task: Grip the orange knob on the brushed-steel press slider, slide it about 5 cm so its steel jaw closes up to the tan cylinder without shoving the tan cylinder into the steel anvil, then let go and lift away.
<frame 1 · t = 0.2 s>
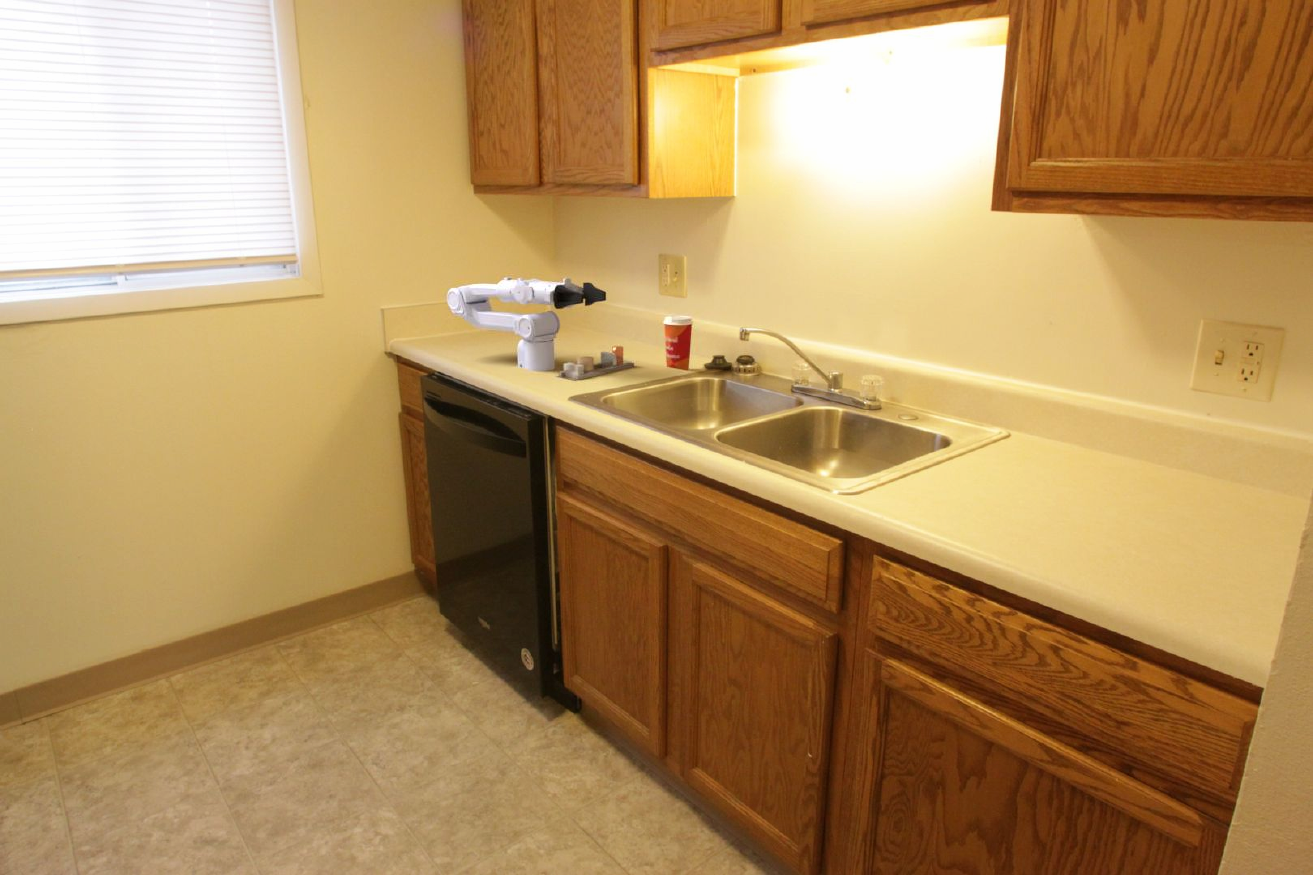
hand: (593, 297, 207), 21 cm above the worktop, tool horizontal, fingers open, 7 cm apart
paper cup: (677, 371, 228), on the worktop
press board: (597, 377, 221), on the worktop
press jaw: (616, 357, 225), point 4 cm above the worktop, slide at 0.0 cm
tan cylinder: (585, 373, 218), point 1 cm above the worktop, touching press board
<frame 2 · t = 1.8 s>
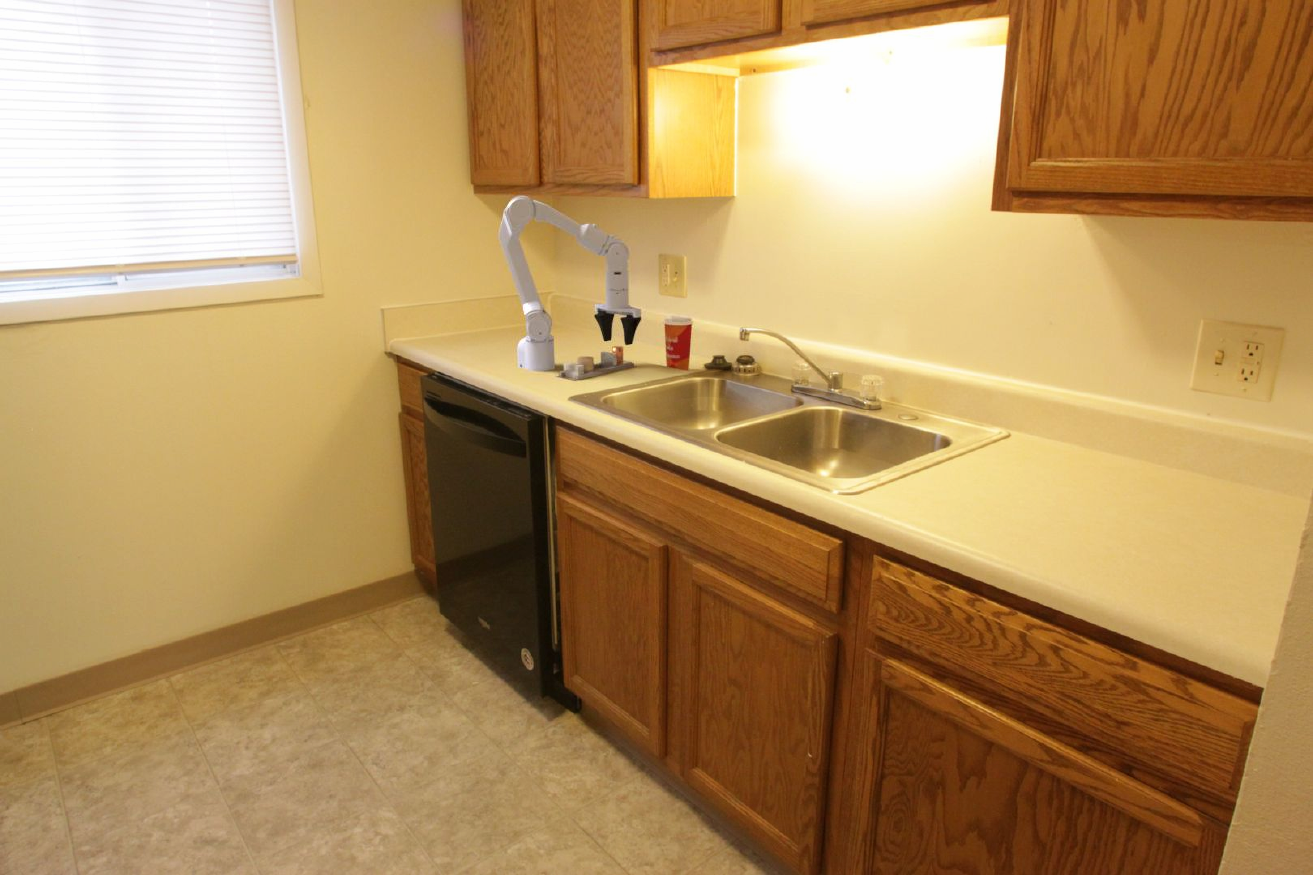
hand: (618, 342, 225), 8 cm above the worktop, tool pointing down, fingers open, 7 cm apart
nothing on the worktop moved.
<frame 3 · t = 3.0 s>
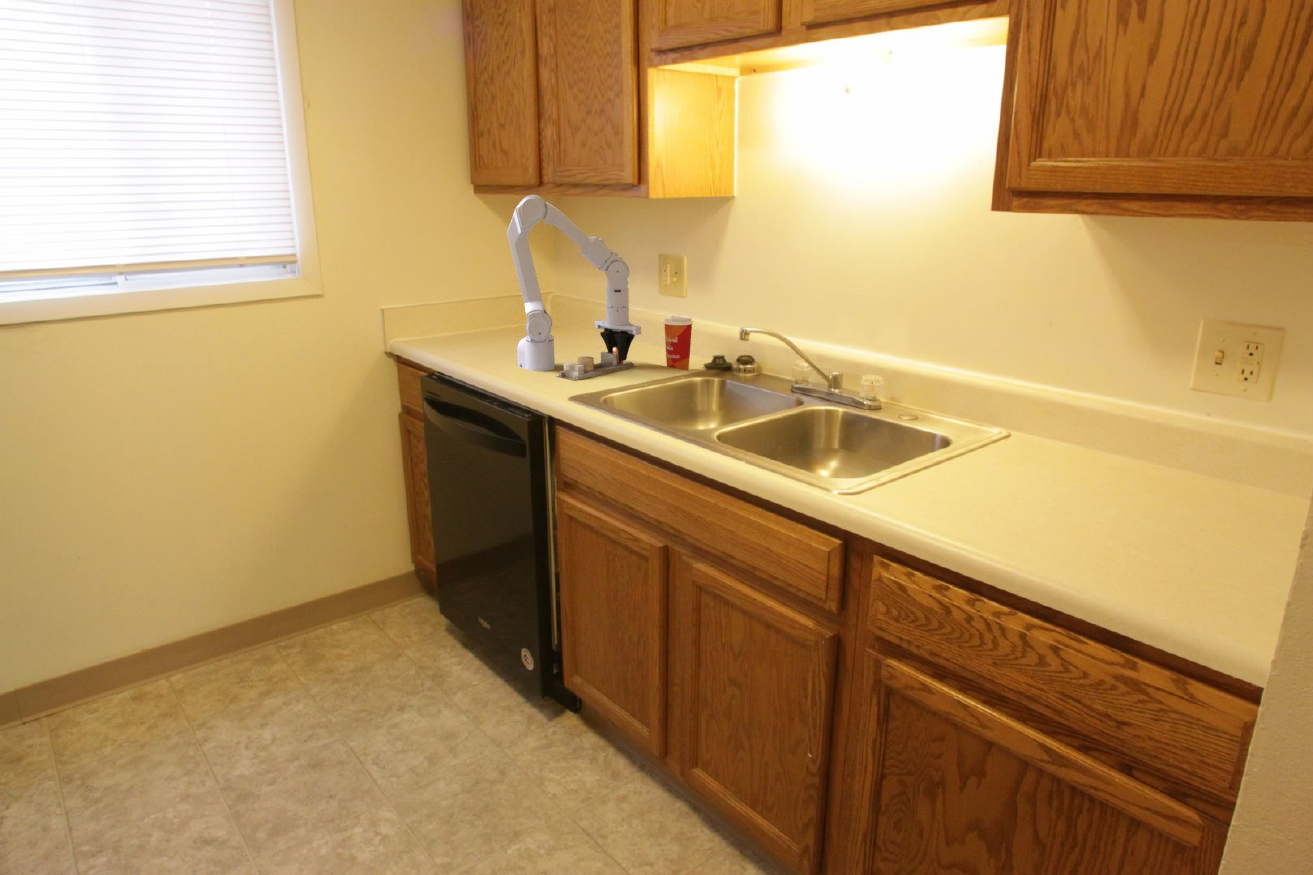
hand: (617, 359, 226), 3 cm above the worktop, tool pointing down, fingers closed on press jaw, 3 cm apart
press jaw: (616, 357, 225), point 4 cm above the worktop, slide at 0.0 cm, touching gripper
everything else where it was.
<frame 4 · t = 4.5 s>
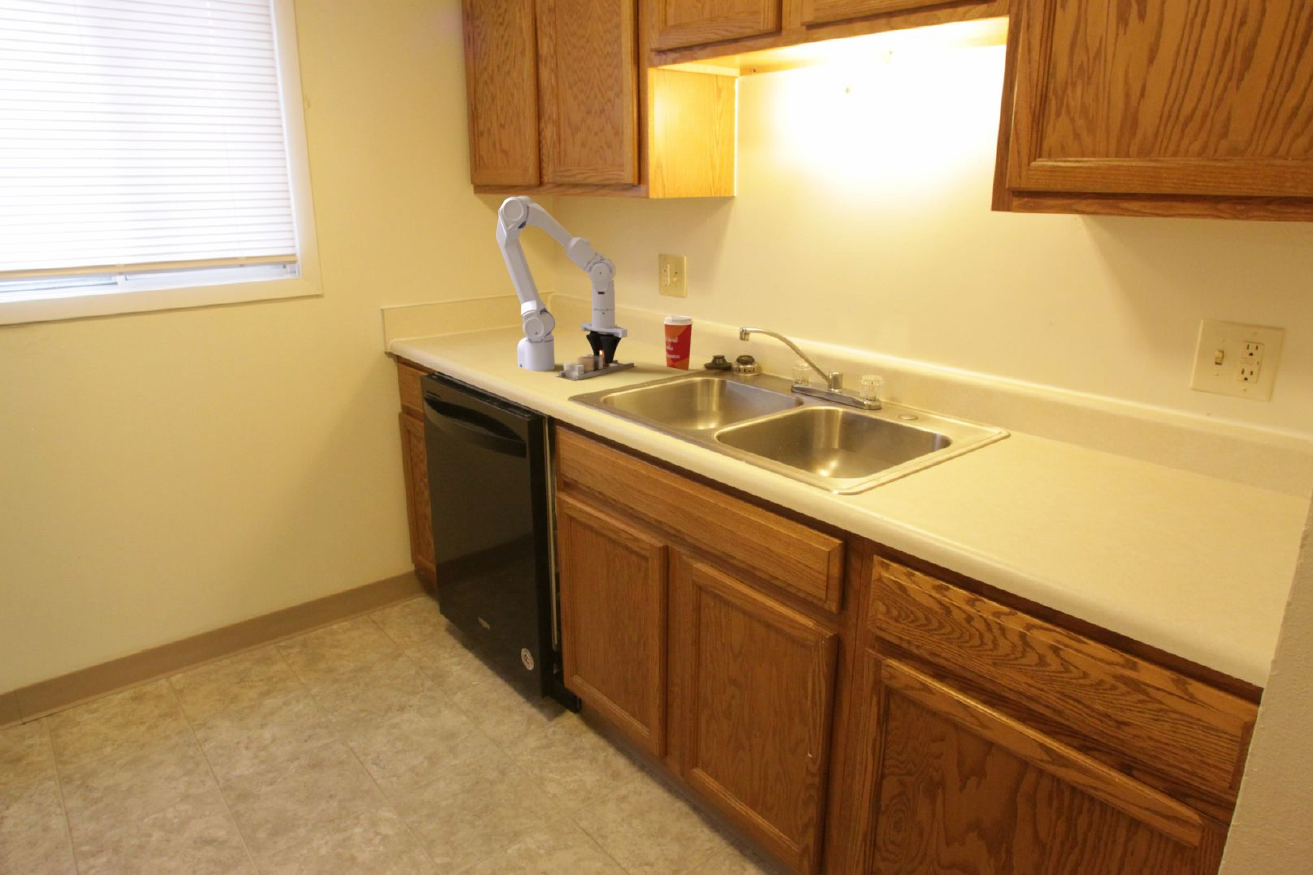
hand: (604, 362, 222), 3 cm above the worktop, tool pointing down, fingers closed on press jaw, 3 cm apart
press jaw: (603, 359, 222), point 4 cm above the worktop, slide at 4.9 cm, touching gripper
everything else where it was.
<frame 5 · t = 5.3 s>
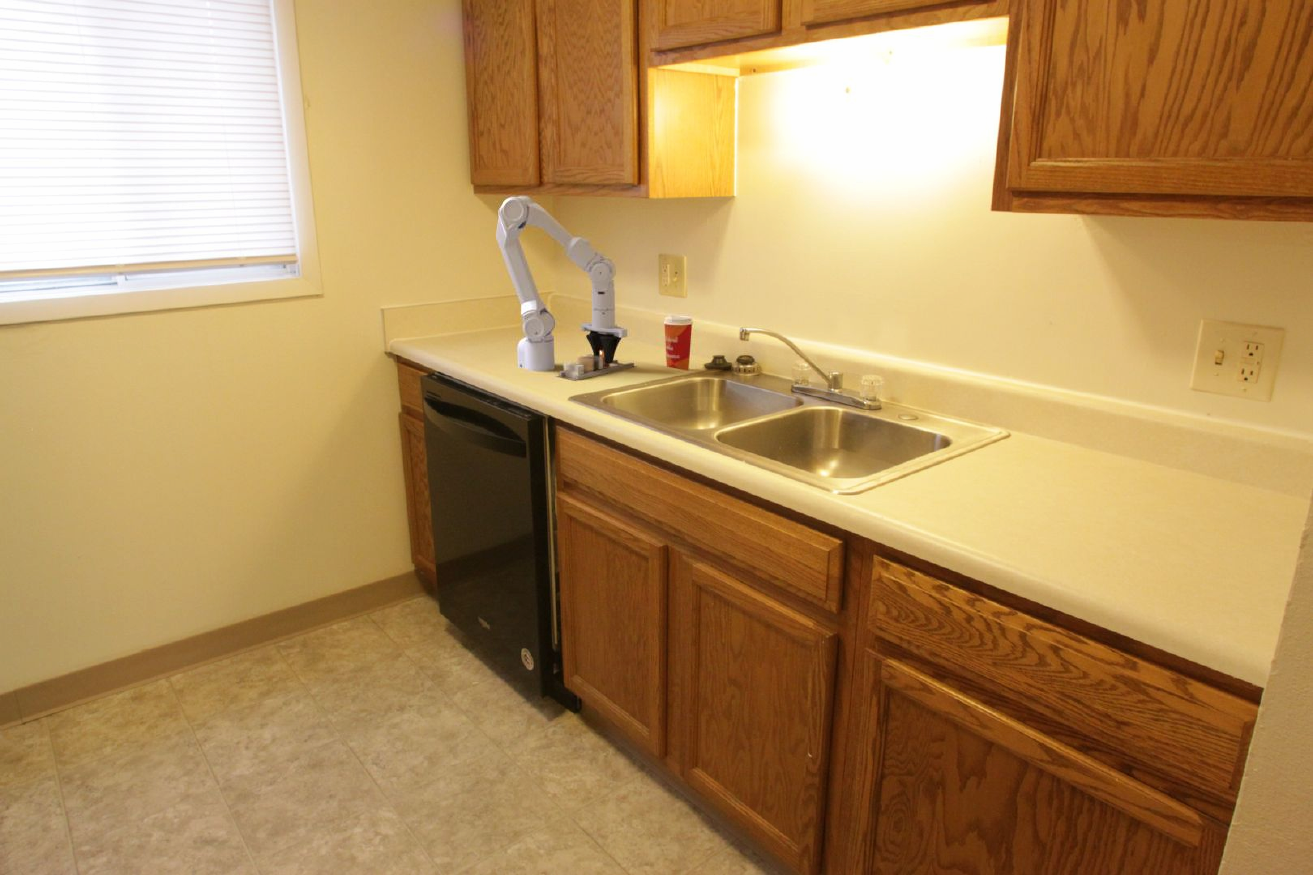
hand: (604, 362, 222), 3 cm above the worktop, tool pointing down, fingers closed on press jaw, 3 cm apart
press jaw: (603, 359, 222), point 4 cm above the worktop, slide at 4.9 cm, touching gripper
everything else where it was.
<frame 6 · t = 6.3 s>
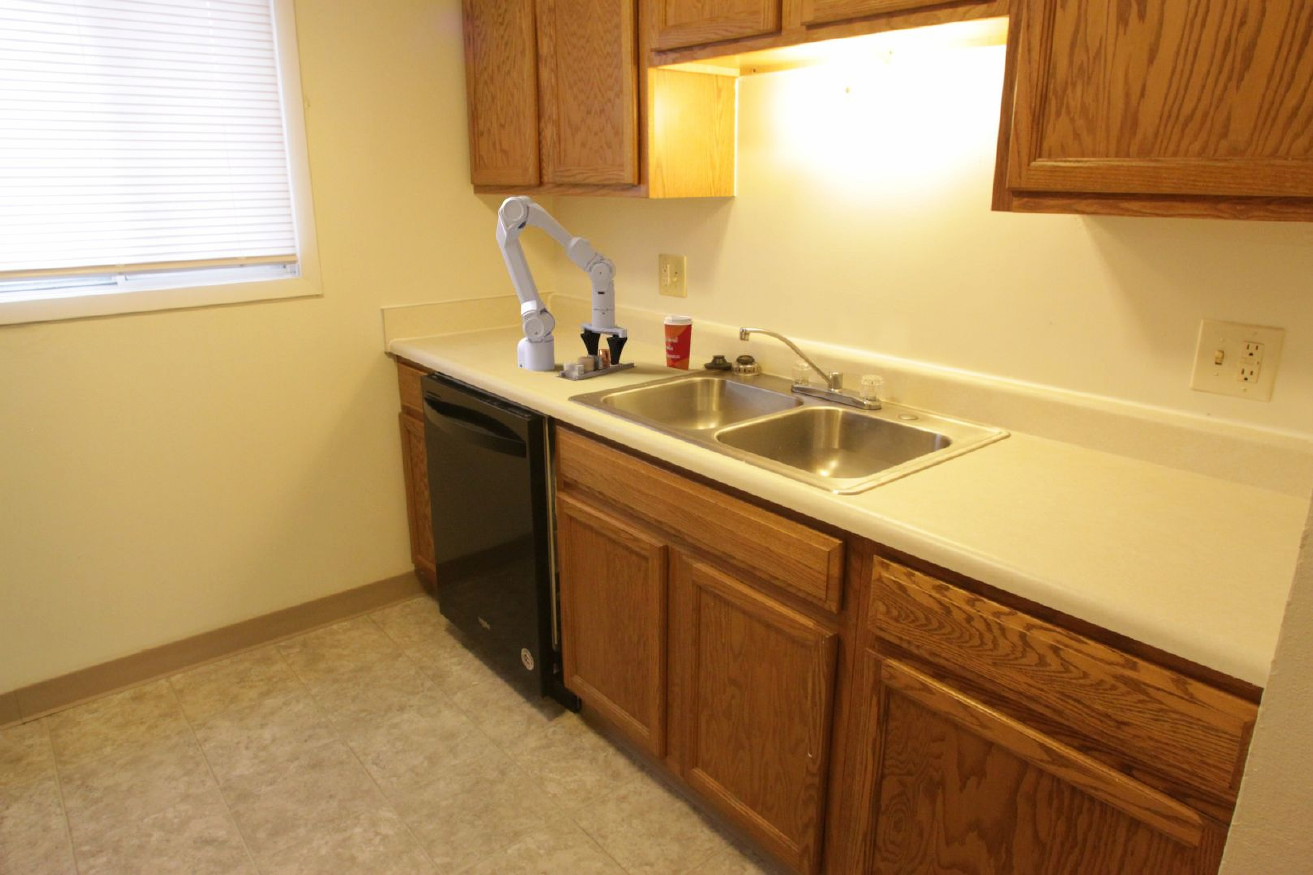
hand: (604, 362, 222), 3 cm above the worktop, tool pointing down, fingers open, 7 cm apart
press jaw: (603, 359, 222), point 4 cm above the worktop, slide at 4.9 cm
everything else where it was.
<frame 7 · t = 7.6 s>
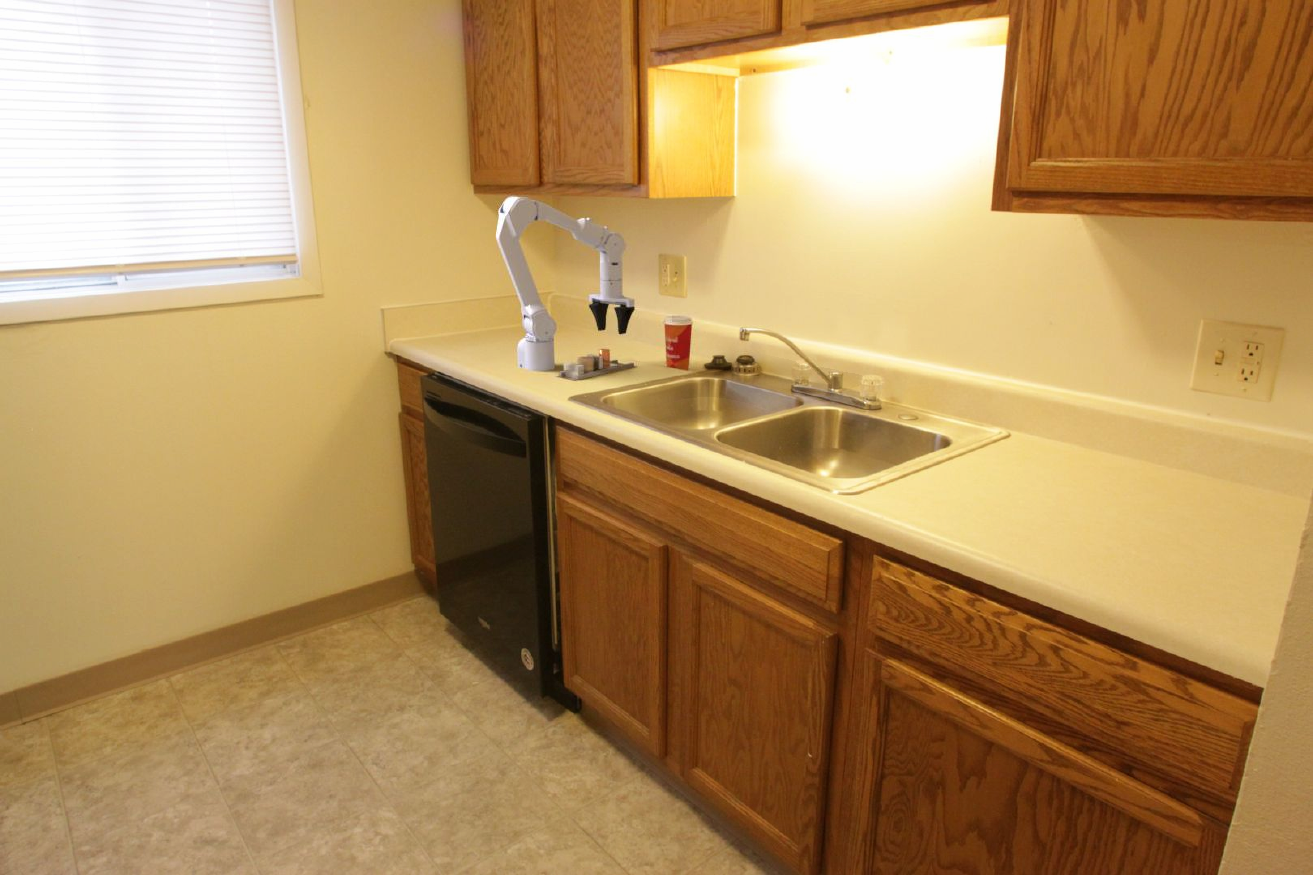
hand: (611, 332, 230), 9 cm above the worktop, tool pointing down, fingers open, 7 cm apart
nothing on the worktop moved.
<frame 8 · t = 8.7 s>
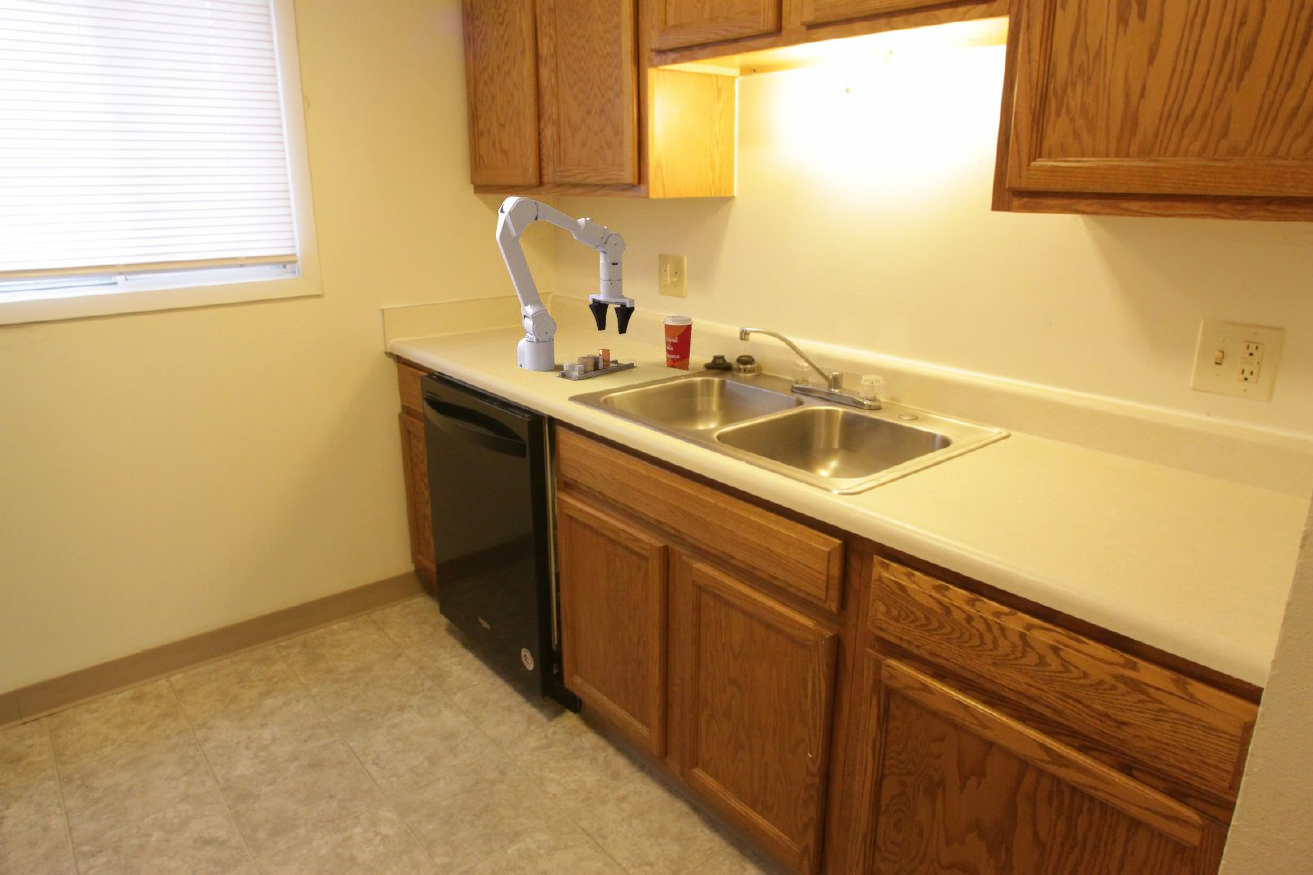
hand: (611, 332, 230), 9 cm above the worktop, tool pointing down, fingers open, 7 cm apart
nothing on the worktop moved.
at the end: press jaw slide at 4.9 cm; tan cylinder moved 0.0 cm from its start; the gripper is holding nothing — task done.
